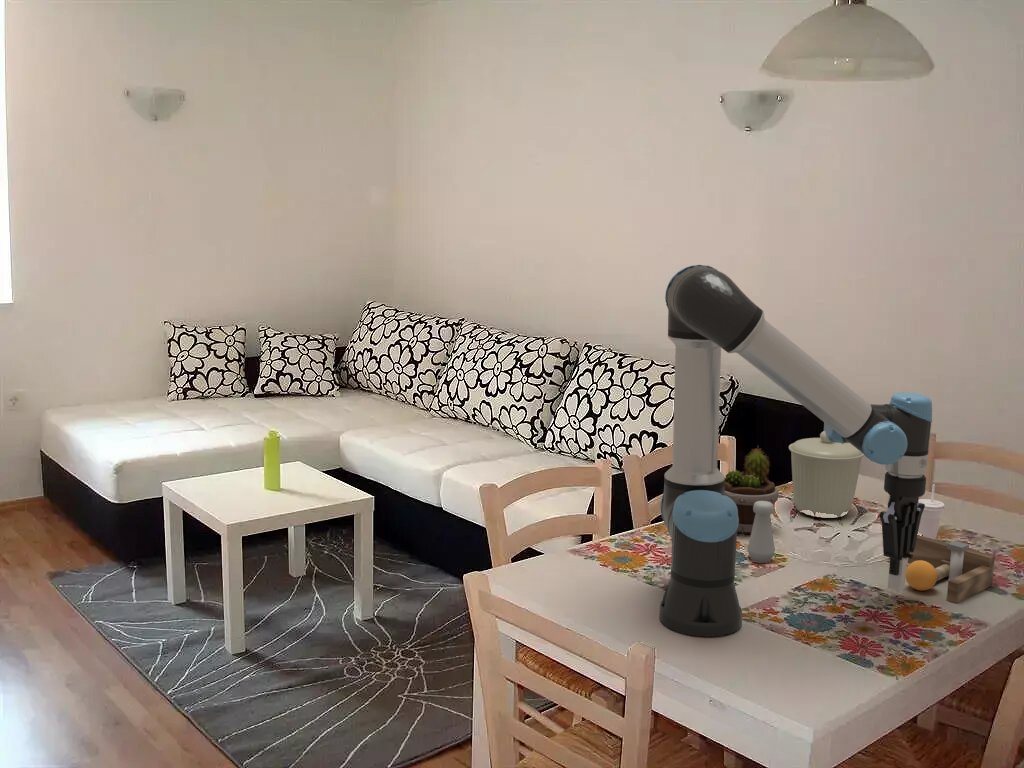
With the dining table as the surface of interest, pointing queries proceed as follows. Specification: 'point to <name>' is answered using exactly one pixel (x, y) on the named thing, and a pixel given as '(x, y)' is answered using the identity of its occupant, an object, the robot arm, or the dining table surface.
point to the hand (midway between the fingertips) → (895, 588)
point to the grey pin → (956, 558)
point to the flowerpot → (750, 489)
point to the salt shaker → (762, 533)
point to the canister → (824, 474)
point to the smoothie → (930, 516)
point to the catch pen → (973, 572)
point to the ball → (921, 575)
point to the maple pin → (943, 569)
